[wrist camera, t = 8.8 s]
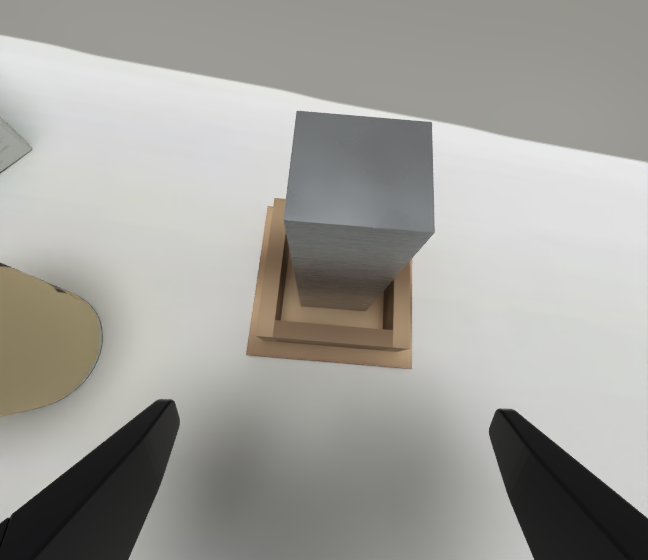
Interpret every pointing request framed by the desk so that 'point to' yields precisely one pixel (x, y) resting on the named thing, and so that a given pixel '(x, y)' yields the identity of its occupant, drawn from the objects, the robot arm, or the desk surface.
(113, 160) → the desk surface
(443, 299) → the desk surface
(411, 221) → the silver block
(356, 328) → the well
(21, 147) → the skincare box
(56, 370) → the coffee cup
